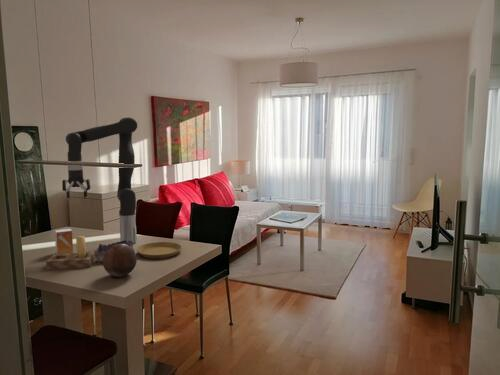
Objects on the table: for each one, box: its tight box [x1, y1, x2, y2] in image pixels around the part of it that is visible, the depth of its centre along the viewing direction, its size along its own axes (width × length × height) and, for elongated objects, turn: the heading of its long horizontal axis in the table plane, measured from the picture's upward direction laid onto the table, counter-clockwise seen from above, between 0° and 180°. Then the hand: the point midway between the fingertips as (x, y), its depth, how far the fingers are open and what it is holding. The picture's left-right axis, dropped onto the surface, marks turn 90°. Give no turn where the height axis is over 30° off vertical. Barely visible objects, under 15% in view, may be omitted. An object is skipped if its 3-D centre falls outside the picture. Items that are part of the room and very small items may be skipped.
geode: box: [95, 240, 135, 264], centre depth 210 cm, size 20×12×10 cm, turn 142°
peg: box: [75, 235, 87, 258], centre depth 200 cm, size 4×4×14 cm
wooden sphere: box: [102, 244, 138, 278], centre depth 183 cm, size 15×15×15 cm
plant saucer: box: [136, 241, 182, 260], centre depth 219 cm, size 24×24×3 cm
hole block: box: [45, 251, 96, 270], centre depth 200 cm, size 20×12×4 cm, turn 100°
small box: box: [54, 228, 74, 254], centre depth 218 cm, size 8×6×13 cm
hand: (77, 197), depth 221 cm, fingers open, 8 cm apart
